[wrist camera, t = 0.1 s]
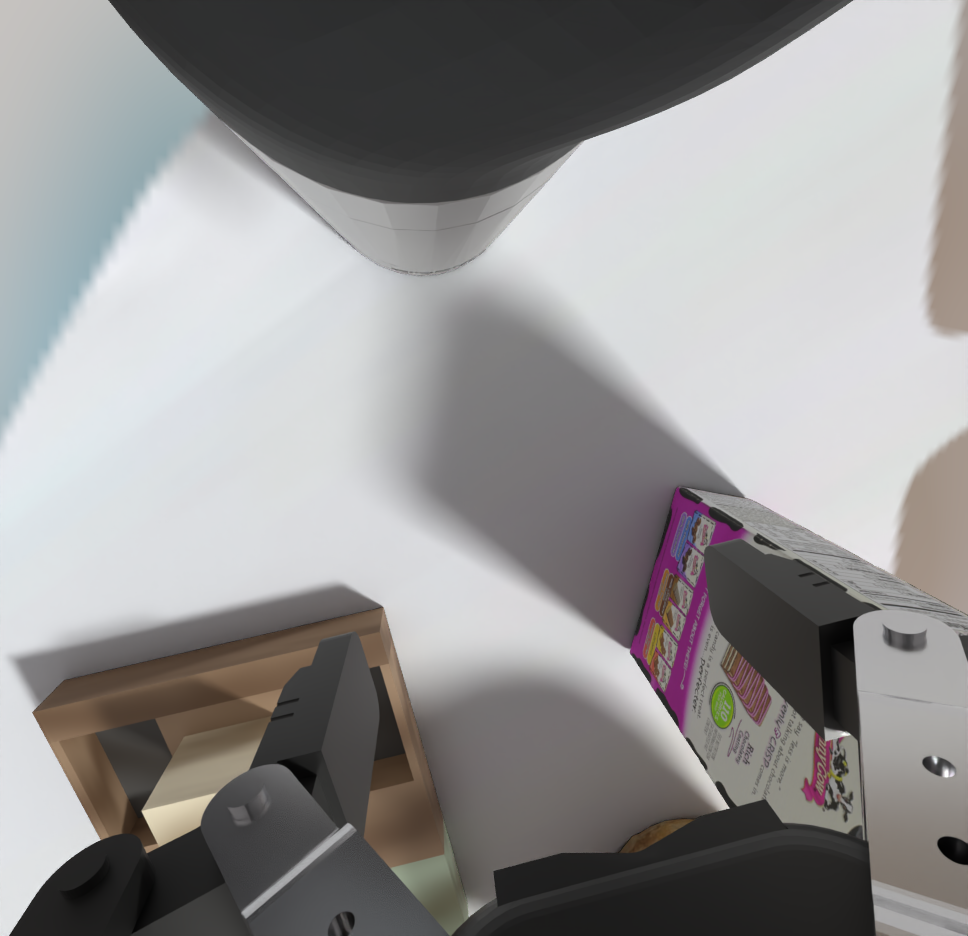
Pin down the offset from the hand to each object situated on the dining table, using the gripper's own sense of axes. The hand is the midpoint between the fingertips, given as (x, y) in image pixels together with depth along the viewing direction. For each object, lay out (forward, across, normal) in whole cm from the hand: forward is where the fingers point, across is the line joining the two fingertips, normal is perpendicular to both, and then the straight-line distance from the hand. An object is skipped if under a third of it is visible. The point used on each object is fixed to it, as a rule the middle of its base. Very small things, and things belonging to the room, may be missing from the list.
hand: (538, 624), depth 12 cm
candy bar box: (+18, -11, +10) cm, 23 cm away
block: (+15, +16, +13) cm, 26 cm away
